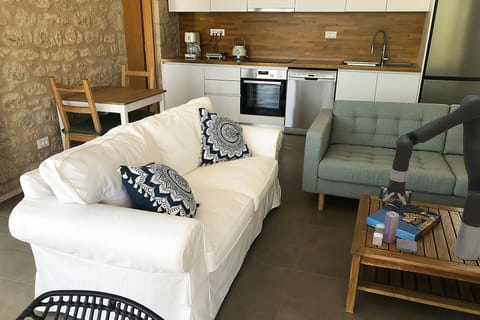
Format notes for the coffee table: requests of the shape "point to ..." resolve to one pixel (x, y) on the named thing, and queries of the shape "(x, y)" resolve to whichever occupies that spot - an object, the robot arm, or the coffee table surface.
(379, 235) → the cream block
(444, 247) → the coffee table surface
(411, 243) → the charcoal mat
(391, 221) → the beverage can
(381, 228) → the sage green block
